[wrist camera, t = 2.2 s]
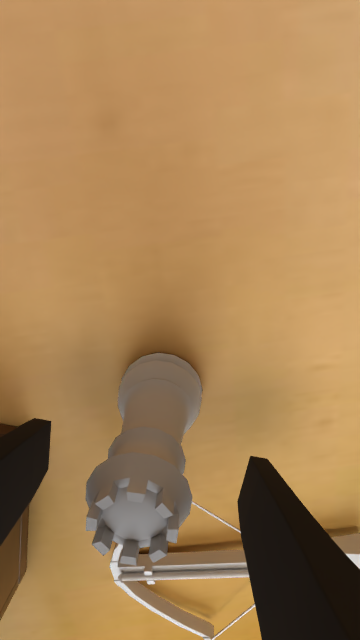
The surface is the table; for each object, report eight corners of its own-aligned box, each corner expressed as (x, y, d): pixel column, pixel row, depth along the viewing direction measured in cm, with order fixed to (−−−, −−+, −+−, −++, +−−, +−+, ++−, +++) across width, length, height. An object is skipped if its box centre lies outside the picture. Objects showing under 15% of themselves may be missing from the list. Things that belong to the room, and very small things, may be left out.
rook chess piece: (215, 404, 15) (241, 563, 7) (145, 433, 16) (101, 607, 8) (180, 336, 14) (168, 434, 6) (108, 369, 15) (17, 495, 7)
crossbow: (140, 611, 20) (132, 650, 18) (95, 475, 17) (81, 503, 15) (365, 608, 18) (385, 653, 16) (356, 451, 15) (379, 481, 13)
